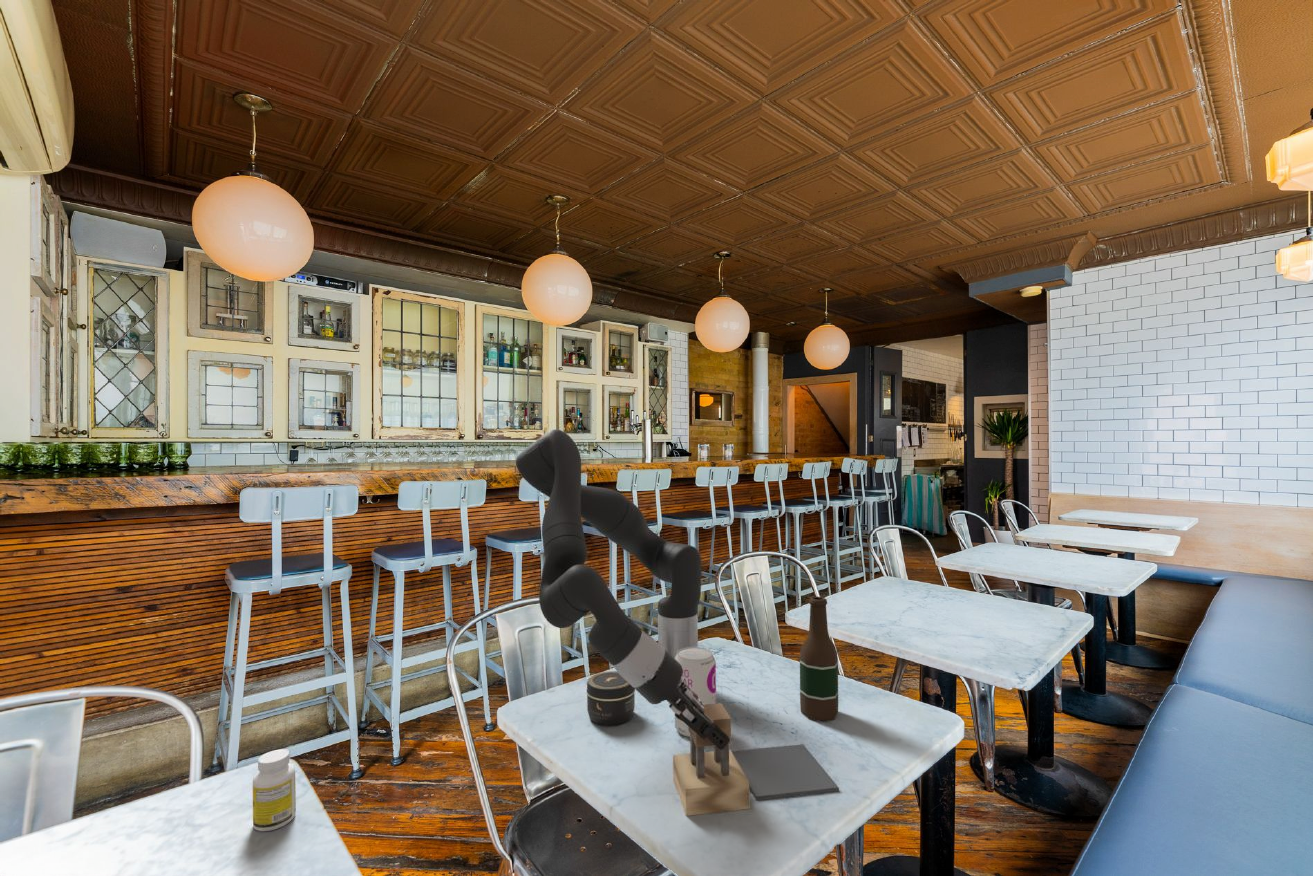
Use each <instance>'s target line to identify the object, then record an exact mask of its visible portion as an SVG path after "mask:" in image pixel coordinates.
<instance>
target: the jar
mask: <svg viewBox="0 0 1313 876" xmlns="http://www.w3.org/2000/svg"><path fill="white" fill-rule="evenodd" d="M635 691H636V689H634V688H633V687H632V686H631V685H630V684H629V683H628V682H627V681H626V680H625V679H624V678H623V677H622V676H621V675H620V674H619V673H618V672H617V670H615V671H611V670H610V671H603V672H598V673H595V674H594V675H592V676H590V677H589V678H588V679H587V682H586V694H587V695H586V696H587V698H586V699H587V701H586V703H587V704H586V706H587V713H588V717H589V719H590V720H591V722H593V723H594V724H596V725H599V726H603V727H615V726H616V727H617V726H620V725H624V724H626V723H627V722H629V721H630V720H631V718H632V717H633V715H634V712H635V701H636V700H635V698H636V697H635V695H636V694H635V693H636V692H635Z"/></svg>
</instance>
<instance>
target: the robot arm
mask: <svg viewBox="0 0 1313 876" xmlns="http://www.w3.org/2000/svg"><path fill="white" fill-rule="evenodd" d="M515 465H516V469H517V471H518V472H519V474H520V476H521V477H522V478H523V479H524V480H525V481H526V482H527V483H528V484H529V485H530V486H531V487H533V488H534V489H536V490H537V491H538V492H540V493H542V494H543V495H545V496H546V497H548V502H547V505H546V508H545V511H544V514H543V517H542V523H541V537H542V547H543V555H544V556H543V557H544V562H543V566H542V571H541V578H540V583H539V590H538V591H539V593H538V601H539V608H540V610H541V613H542V615H543V617H544V618H545V620H546V621H547V623H549V624H550V625H551V626H552V627H554V628H558V629H566V628H569V627H571V626H573V625H574V624H576V623H577V622H578V621H580V619H582V618H583V617H585V616H586V614H588V613H592V615H593V616H594V618H595V620H596V621H595V623H593V625H592V627H591V629H590V631H589V633H588V643H589V644H590V645H591V647H592V648H593V649H594V650H596V652H597V653H598V654H599V655H600V656H601V657H603V658H604V660H606V661H607V662H608V663H609V664H610V665H611V666H612V667H613V668H614V669H615V671H617V672H618V673H619V674H620V675H621V676H622V677H623V678H624V679H625V680H626V681H627V682H628V683H629V684H630V685H631V686H632V687H633V688H634V689H635V691H637V693H638V694H640V695H641V696H642V697H643V698H644V699H645V700H646V701H647V702H648V703H649V704H651V705H658V704H660V703H662V702H664V701H666V702H668V704H669V705H668V707H669V708H670V709H671V711H672V712H674V714H675V713H676V714H678V715H679V716H678V717H679V719H680V720H681V721H683V722H684V723H685V724H686V725H687V726H689V727H690V728H691V729H692V730H693V731H694V732H696V733H697V734H698V735H699V736H700V737H701V738H703V739H705V738H706V737H707V738H708V739H709V740H710V741H711V742H712V743H713V744H715V745H716V746H717V747H718V748H719V749H720V750H722V749H723V748H724V747H725V746H726V745H727V744H728V743H729V741H730V739H729V737H728V736H727V735H726V734H725V733H724V732H723V731H722V730H721V729H720V728H719V727H717V726H716V725H715V724H714V721H713V720H712V719H710V718H709V717H708V716H707V715H706V714H705V708H704V707H703V706H702V705H704V704H703V702H702V701H701V700H699V699H698V696H697V694H696V693H695V692H694V691H693V690H691V689H690V688H689V686H688V685H687V684H686V683H685V682H684V681H682V680H681V677H682V673H683V668H682V666H681V664H680V663H679V662H677V661H676V660H675V657H676V655H677V652H678V651H679V650H681V649H683V648H687V647H699V641H698V640H699V638H698V637H699V635H698V634H699V633H698V632H699V631H698V630H699V628H698V625H699V624H698V621H699V620H698V618H699V617H698V615H699V614H698V608H699V604H700V601H701V593H702V575H703V574H702V568H703V567H702V566H703V565H702V557H701V555H700V551H698V549H697V548H696V547H695V546H693V545H690V544H684V543H677V542H673V541H669V540H666V539H664V538H662V537H661V536H660V535H658V534H657V533H655V532H654V531H653V530H652V529H651V528H650V527H649V526H648V524H647V521H646V517H645V516H644V514H643V512H642V511H641V510H640V508H639V507H638V506H637V505H636V504H635V503H634V502H633V501H631V500H630V499H629V498H627V497H626V496H625V495H624V494H622V493H621V492H620V491H617V490H616V489H615V490H614V489H611V488H606V487H599V486H593V485H585V484H582V457H581V452H580V451H579V447H578V446H577V444H576V442H575V441H574V440H573V438H572V437H571V436H570V435H569V434H567V433H566V432H565V431H563V430H561V429H557V428H556V429H552V430H550V431H548V432H545V433H543V435H541V436H540V437H539V438H537V439H536V440H535V441H534V442H532V443H531V444H530V445H529V446H527V447H526V448H524V449H523V450H522V451H521V452H520V453H519V454H518V456H517V457H516V460H515ZM582 520H583V521H585V522H587V523H588V524H589V525H590V526H591V527H592V528H594V529H596V530H597V531H598V532H599V533H600V534H602V535H603V536H604V537H605V538H607V539H608V540H609V541H611V542H612V543H614V544H616V545H617V546H619V547H620V548H621V549H622V550H624V551H626V552H627V553H629V554H630V555H631V556H633V557H635V558H636V560H638V561H639V562H640V563H641V564H642V565H643V566H644V567H645V568H646V570H648V571H649V573H651V574H652V575H653V576H654V577H655V578H656V579H658V580H660V581H663V582H666V583H670V584H671V590H670V595H669V596H665V597H663V598H661V599H659V600H658V602H657V640H656V639H654V638H653V637H652V636H651V635H649V634H648V633H647V632H645V631H644V630H642V628H641V627H639V625H637V624H636V623H635V621H633V620H632V619H631V618H630V617H629V616H628V615H626V613H625V612H624V611H623V609H622V608H621V606H620V605H619V602H618V601H617V600H616V598H615V596H614V595H613V593H612V592H611V590H610V589H609V586H608V585H607V583H606V581H605V580H604V578H603V577H602V575H601V574H600V573H599V572H598V571H597V570H596V569H594V568H593V567H591V566H588V565H586V564H585V563H586V561H587V558H588V549H587V543H586V538H585V533H584V527H583V521H582ZM697 707H698V709H699V710H697V709H696V708H697ZM702 723H705V724H704V725H703V726H702V727H700V725H701V724H702Z"/></svg>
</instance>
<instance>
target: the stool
mask: <svg viewBox="0 0 1313 876" xmlns="http://www.w3.org/2000/svg"><path fill="white" fill-rule="evenodd" d="M702 706H703V707H704V708H705V714H706V715H707V716H708V717H709V718H710V719H712V720H713V721H714V724H715V725H716V726H717V727H719V728H720V729H721V730H722V731H723V732H724V733H725V734H726V735H727V736H728V737H729V739H730V741H729V743H728V744H727V745H726V746H725V747H724V748H723V749H722V750H720V749H719V748H718V747H717V746H716V745H715V744H713V743H712V742H711V741H710V740H709V739H708V738H707V737H706V738H705V739H703V738H701V737H700V736H699V735H698V734H697V733H696V732H694V731H693V730H692V729H691V728H690V727H689V726H688V730H689V733H690V737H689V738H690V739H689V741H690V744H689V745H690V746H689V747H690V752H689V754H690V760H691V764H692V765H696V776H697V778H698V779H699V778H705V757H704V752H705V747H713V751H714V760H715V762H716V763H717V762H721V774H722V776H728V775H729V750H730V745H731V744H732V718H731V716H730V715H729V714H728V712H727V711H726V708H725V707H724V705H723V704H722V703H721V702H720V703H718V702H717V703H716V704H706V705H702ZM696 709H697V710H699V709H698V707H697V708H696ZM704 724H705V723H702V724H701V725H700V727H702V726H703V725H704Z"/></svg>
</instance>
